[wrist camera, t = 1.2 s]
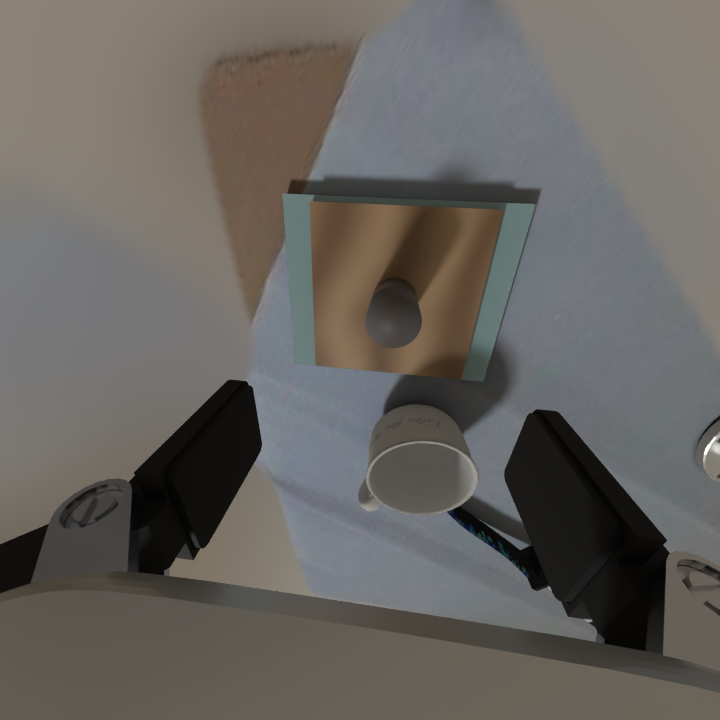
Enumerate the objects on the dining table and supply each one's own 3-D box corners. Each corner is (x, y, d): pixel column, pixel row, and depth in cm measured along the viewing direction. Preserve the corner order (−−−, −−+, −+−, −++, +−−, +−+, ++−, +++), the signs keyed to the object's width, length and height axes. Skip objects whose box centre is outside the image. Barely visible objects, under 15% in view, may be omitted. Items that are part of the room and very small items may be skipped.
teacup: (434, 375, 30) (445, 424, 23) (477, 442, 33) (499, 502, 26) (334, 425, 35) (318, 477, 28) (381, 478, 38) (378, 537, 31)
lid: (500, 210, 21) (540, 206, 15) (459, 375, 28) (476, 417, 22) (312, 201, 23) (281, 195, 17) (317, 361, 30) (297, 398, 24)
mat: (530, 204, 22) (535, 204, 21) (480, 376, 29) (483, 381, 28) (286, 194, 24) (282, 193, 23) (298, 359, 31) (295, 363, 30)
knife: (589, 592, 42) (608, 629, 38) (571, 598, 43) (586, 634, 39) (448, 471, 39) (451, 498, 35) (432, 482, 40) (433, 508, 36)
